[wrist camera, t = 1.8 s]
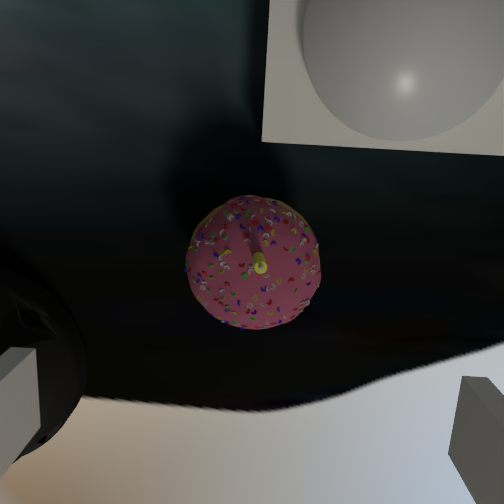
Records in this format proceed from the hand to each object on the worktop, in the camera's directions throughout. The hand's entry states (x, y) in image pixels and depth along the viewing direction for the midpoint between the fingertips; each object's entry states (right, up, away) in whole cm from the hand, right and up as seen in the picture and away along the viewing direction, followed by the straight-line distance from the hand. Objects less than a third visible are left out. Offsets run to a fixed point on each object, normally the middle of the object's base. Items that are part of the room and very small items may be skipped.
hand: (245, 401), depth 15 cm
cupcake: (0, +5, +20) cm, 20 cm away
